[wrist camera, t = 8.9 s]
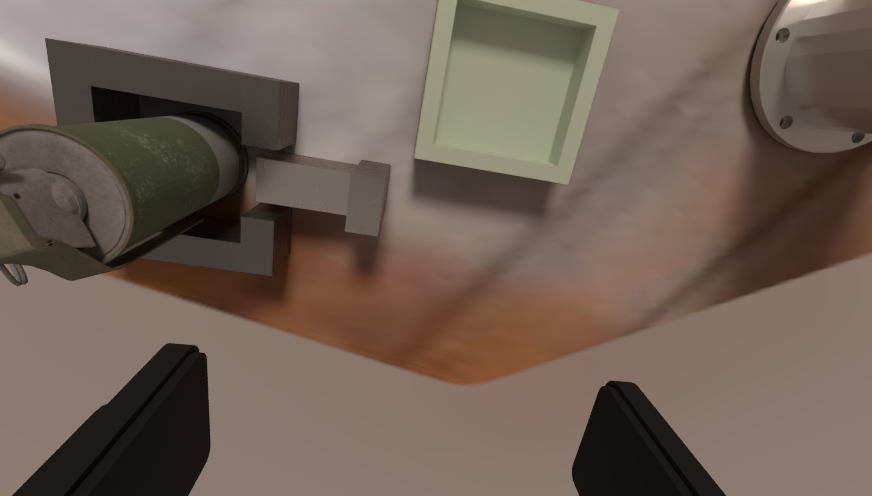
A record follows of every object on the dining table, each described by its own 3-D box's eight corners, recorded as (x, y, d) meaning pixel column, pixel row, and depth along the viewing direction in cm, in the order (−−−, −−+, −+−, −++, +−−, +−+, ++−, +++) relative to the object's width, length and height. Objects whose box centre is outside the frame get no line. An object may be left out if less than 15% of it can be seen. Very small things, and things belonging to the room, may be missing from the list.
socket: (299, 83, 26) (279, 81, 22) (289, 253, 30) (271, 276, 27) (100, 46, 25) (45, 38, 21) (118, 229, 29) (75, 249, 25)
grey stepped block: (390, 164, 28) (385, 178, 24) (383, 213, 30) (377, 236, 25) (273, 144, 28) (243, 155, 23) (271, 196, 29) (242, 216, 24)
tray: (595, 19, 26) (619, 9, 23) (552, 175, 29) (568, 184, 26) (440, -15, 25) (443, -30, 22) (414, 151, 28) (414, 158, 25)
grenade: (140, 124, 27) (-166, 157, 13) (226, 101, 26) (12, 109, 12) (183, 213, 29) (-35, 327, 15) (264, 193, 29) (118, 289, 15)
